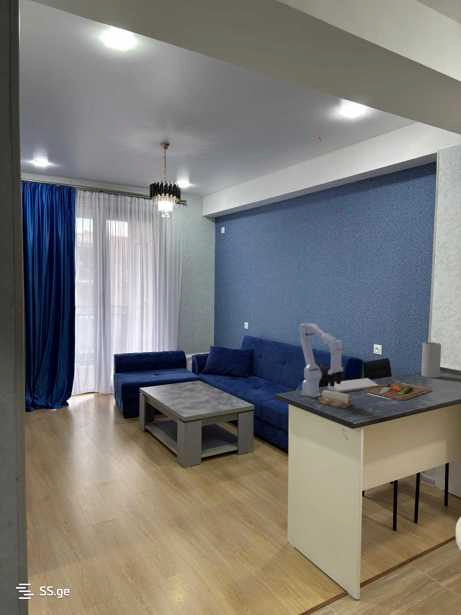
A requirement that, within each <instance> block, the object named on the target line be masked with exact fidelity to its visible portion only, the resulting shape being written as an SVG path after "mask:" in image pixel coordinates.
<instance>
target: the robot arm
mask: <svg viewBox="0 0 461 615" xmlns="http://www.w3.org/2000/svg"><path fill="white" fill-rule="evenodd" d="M298 333H299V337H300V343H301V348H302V351H303V356H304V360H305V365H306V366H305V367H304V369H303V371H304V372H303V377H304V380H303V381H302V385H301V386H302V388H301V390H302V391H301V395H302V396H306V397H311V398H319V397H321V396H322V393H320V392H319V391H320V390H319V389H320V388H319V387H320V386H319V384H320V381H321V379H322V377H323V373H322V370H321V369H320V366H319V365H317V364H316V361H315V356H314V353H313V349H312V344H311V338H312V337H313V336H314V335H317V337H319V338H321V341H322V342H323V343H324V344H326V345H327V346H328V347H329V350H330V368H329V369H328V371H327V373H326V377H327V379H328V384H329V383H330V386H332V387H334V385H335V382H336V384H340V383H341V381H343V376H344V375H345V371H344V367H343V366H342V352H343V350H344V348H345V343H344V341H343V340H342V339H337V338H336V337H334V336H333V335H332V333H325V331H323V330H322V329H321V328H320V327H318V324H317V323H315V322H312V323H311V322H310V323H301V324H299V327H298Z"/></svg>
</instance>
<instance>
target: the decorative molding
mask: <svg viewBox="0 0 461 615" xmlns="http://www.w3.org/2000/svg"><path fill="white" fill-rule="evenodd" d="M377 386H380V384H378V383H376V382H375V381H373V380H371V379H369V377H367V378H359V379H358V378H357V379H351V380H350V379H348V380H341V383H340V384H336V381H335V385H334V387H332V386H330V383H329V382H328V385H327V390H328V389H329V391H334V392H339V393H345V392H346V393H347V391H348V392H353V391H354V390H355V391H361V389H362V390H365V389H369V388H373V387H377Z"/></svg>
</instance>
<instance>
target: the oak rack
mask: <svg viewBox="0 0 461 615" xmlns="http://www.w3.org/2000/svg"><path fill="white" fill-rule="evenodd" d="M317 398H318V399H317V403H319V404H324V405H328V406H331V407H336V408H341V409H346V408H348V407H349V406H352V399H349V398H348V403H347V404H346V403H345V402H340V401H335V400H331V399H326V398H322V396H318V397H317Z"/></svg>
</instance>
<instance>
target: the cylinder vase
mask: <svg viewBox="0 0 461 615" xmlns="http://www.w3.org/2000/svg"><path fill="white" fill-rule="evenodd" d="M421 348H422V350H421V352H422V353H421V376H422V377H424V378H428V379H439V378H440V377H441V358H442V357H441V356H442V343H440V342H432V341H431V342H429V341H426V342H425V341H424V342H422V347H421Z"/></svg>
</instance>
